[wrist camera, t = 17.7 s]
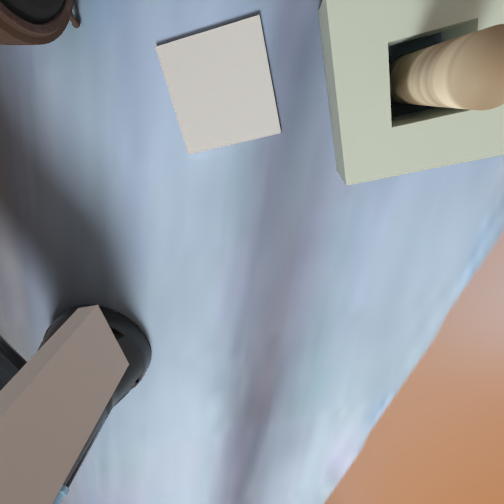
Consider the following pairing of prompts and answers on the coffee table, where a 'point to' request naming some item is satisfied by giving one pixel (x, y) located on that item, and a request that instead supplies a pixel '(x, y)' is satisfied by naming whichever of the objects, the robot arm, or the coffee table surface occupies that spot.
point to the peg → (453, 73)
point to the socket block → (378, 88)
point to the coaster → (221, 85)
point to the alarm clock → (34, 21)
